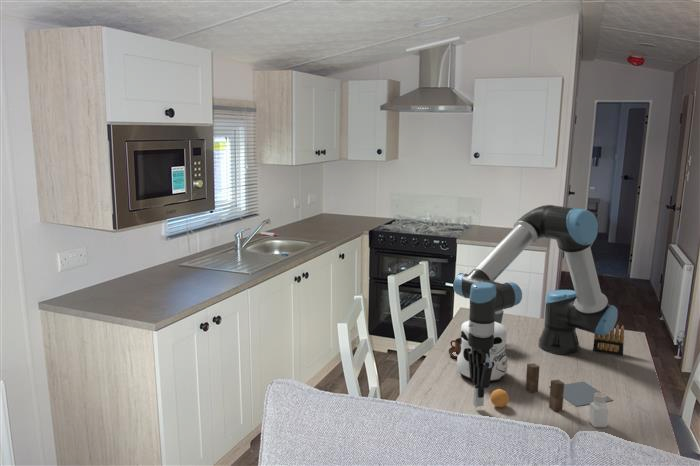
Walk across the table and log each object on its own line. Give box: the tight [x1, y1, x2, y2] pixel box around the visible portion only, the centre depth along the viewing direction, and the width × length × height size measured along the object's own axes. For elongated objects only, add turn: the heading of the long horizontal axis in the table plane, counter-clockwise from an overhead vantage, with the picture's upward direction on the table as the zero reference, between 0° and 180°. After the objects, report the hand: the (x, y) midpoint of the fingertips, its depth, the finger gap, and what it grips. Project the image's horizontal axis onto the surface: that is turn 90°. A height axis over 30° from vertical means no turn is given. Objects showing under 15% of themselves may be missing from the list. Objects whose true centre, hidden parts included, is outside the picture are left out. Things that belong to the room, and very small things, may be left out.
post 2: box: [548, 379, 565, 412], centre depth 174 cm, size 3×3×9 cm
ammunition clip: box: [592, 324, 625, 356], centre depth 218 cm, size 11×2×12 cm, turn 65°
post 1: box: [525, 362, 540, 394], centre depth 187 cm, size 3×3×9 cm
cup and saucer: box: [448, 337, 461, 359], centre depth 215 cm, size 12×12×6 cm
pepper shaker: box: [588, 392, 609, 428], centre depth 165 cm, size 4×4×10 cm
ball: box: [490, 388, 510, 408], centre depth 176 cm, size 6×6×6 cm
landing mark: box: [548, 380, 614, 408], centre depth 185 cm, size 14×14×1 cm
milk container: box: [456, 320, 508, 382], centre depth 198 cm, size 17×17×18 cm
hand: (478, 405), depth 175 cm, fingers closed
